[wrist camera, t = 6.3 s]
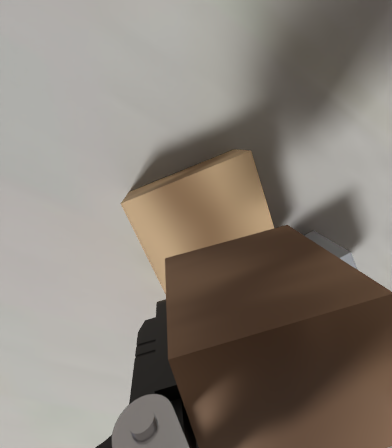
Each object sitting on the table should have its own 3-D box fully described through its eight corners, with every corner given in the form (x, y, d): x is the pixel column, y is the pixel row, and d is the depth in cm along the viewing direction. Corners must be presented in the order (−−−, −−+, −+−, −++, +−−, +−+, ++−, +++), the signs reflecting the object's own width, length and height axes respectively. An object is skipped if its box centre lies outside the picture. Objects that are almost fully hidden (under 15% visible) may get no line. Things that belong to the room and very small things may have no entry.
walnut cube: (287, 224, 9) (394, 293, 5) (300, 325, 11) (392, 445, 6) (164, 258, 9) (168, 360, 5) (194, 356, 11) (218, 502, 6)
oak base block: (233, 149, 19) (251, 150, 15) (263, 244, 21) (286, 266, 17) (129, 191, 19) (120, 203, 15) (172, 282, 21) (174, 312, 17)
